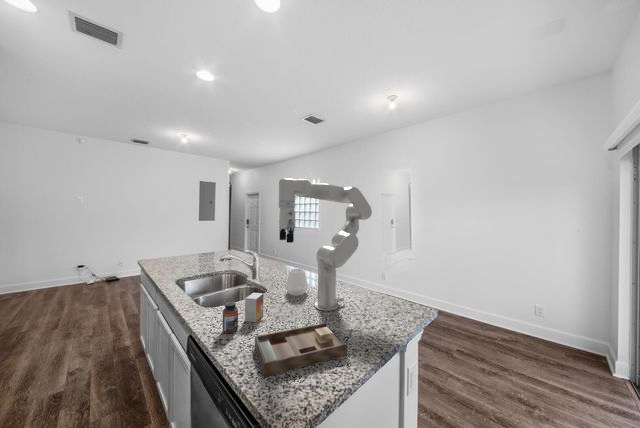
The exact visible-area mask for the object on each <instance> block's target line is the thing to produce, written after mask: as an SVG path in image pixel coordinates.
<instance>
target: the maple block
mask: <svg viewBox="0 0 640 428" xmlns="http://www.w3.org/2000/svg"><path fill="white" fill-rule="evenodd" d="M333 334H334V332H332V330H330V328H329V327H328V326H327V327H323V328H318V329H315V338H316V339H317V340H318V342H319V343H320V344H321V343H326V342H330V341H333Z"/></svg>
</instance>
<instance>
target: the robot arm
mask: <svg viewBox="0 0 640 428" xmlns="http://www.w3.org/2000/svg"><path fill="white" fill-rule="evenodd" d="M296 197H302V198H308V199H315V200H323V201H329V202H335V203H339V204H349V205H348V206H347V207H346V208H345V223H344V224H343V225H342V227H340V228H339V230H338V231H337V232H336V233H335V234H334V235H333V236H332V237H331V245H332V246H331V245H322V246H321V247H319V248H318V250H317V251H316V263H317V300H316V301H315V303H314V308H315V309H317V310H318V311H323V312H329V311H330V312H331V311H335V310H337V309H338V308H340V307H339V303H340V302H344V301H345V298H344V297H340V296H337V269H339V268H342V267H343V266H344V265H345V264H346V263H347V262H348V260H350V259H351V257H352V256H353V255H354V253H355V252H356V251H357V249H358V247H359V239H358V236H357V234H358V232H359V230H360V222H359V220H363V221H365V220H368V219H370V218H371V216H372V213H373V211H372V208H371V207H372V206H371V205H370V204H369V202H368V201H367V198H366V197H365V196H364V194H363V193H362V191H360V189H359V188H357V187H356V186H348V187H344V186H341V185H339V186H338V185H334V184H330V183H312V182H311V181H310V180H308V179H307V178H305V179H304V178H302V179H301V178H299V179H293V178H280V179H279V181H278V208H279V216H278V217H279V220H278V225H279V226H278V227H279V230H278V231H279V240H280V241H286V243H294V240H295V239H294V238H295V237H294V236H295V235H294V234H295V229H296V212H295V209H296V208H295V203H296Z"/></svg>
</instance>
